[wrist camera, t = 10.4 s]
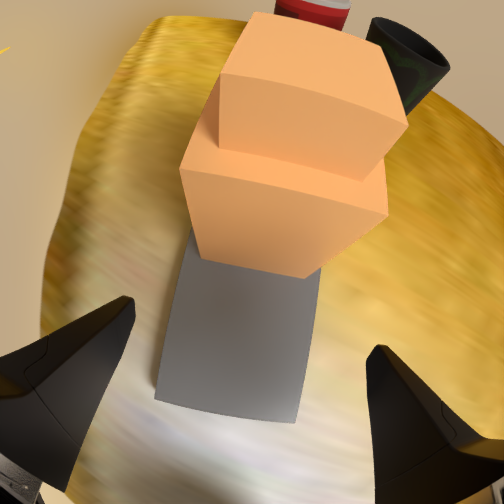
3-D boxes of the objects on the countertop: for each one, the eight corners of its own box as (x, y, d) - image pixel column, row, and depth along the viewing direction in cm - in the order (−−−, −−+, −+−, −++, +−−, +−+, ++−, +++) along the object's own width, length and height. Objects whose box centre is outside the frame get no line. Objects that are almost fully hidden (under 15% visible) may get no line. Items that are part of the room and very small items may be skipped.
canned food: (334, 65, 28) (360, 1, 18) (309, 86, 26) (337, 7, 15) (285, 42, 29) (301, -21, 18) (253, 61, 26) (265, -16, 16)
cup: (346, 91, 26) (383, 13, 15) (400, 128, 26) (451, 58, 14) (318, 119, 24) (361, 21, 13) (382, 163, 23) (449, 80, 12)
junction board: (289, 417, 16) (308, 438, 12) (159, 394, 16) (141, 411, 11) (320, 207, 21) (342, 177, 17) (208, 182, 21) (206, 146, 16)
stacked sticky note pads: (304, 278, 18) (444, 168, 5) (201, 258, 17) (164, 94, 5) (313, 190, 20) (397, 46, 7) (223, 171, 19) (233, 1, 7)
